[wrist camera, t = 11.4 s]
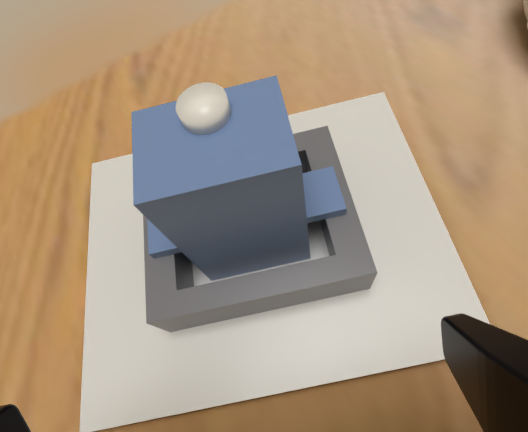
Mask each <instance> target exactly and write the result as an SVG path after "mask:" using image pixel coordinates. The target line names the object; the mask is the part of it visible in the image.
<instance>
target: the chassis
mask: <svg viewBox="0 0 528 432" xmlns="http://www.w3.org/2000/svg"><path fill="white" fill-rule="evenodd" d="M288 118H289V122H290V125H291V129H292V133H293V136H294V140H295V143H296V147H297V150H298V154H299V157H300V161H301V165H302V173H306V172H310V171H314V170H319V169H323V168H327V167H331V166H333V168H334V171H335V174H336V177H337V180H338V183H339V186H340V189H341V192H342V195H343V198H344V201H345V205H346V208H347V211H346V214H345V215H341V216H336V217H332V218H328V219H323V220H319V221H315V222H310V223H307V226H308V237H309V247H310V258H311V259H306V260H302V261H297V262H293V263H288V264H284V265H279V266H275V267H271V268H266V269H262V270H257V271H253V272H248V273H244V274H240V275H235V276H231V277H226V278H222V279H217V280H213V281H211V280H210V279H209V278H208V277H207V276H206V275H205V274H204V273H203V272H202V271H201V270H200V269H199V268H198V267H197V266H196V265H195V264H194V263H193V262H192V261H191V260H190V259H188V258H187V257H186V256H185V255H184V254H183V253H182V252H180V253H176V254H172V255H167V256H163V257H159V258H153V257H151V256H150V255H149V251H148V224H147V218H146V217H145V216H144V215H143V214H142V213H141V212H140V211H139V210H138V209H137V208H136V207H135V206H134V205H133V154H129V155H125V156H121V157H117V158H113V159H109V160H105V161H101V162H97V163H93V164H92V177H91V198H90V220H89V241H88V262H87V284H86V305H85V327H84V348H83V369H82V391H81V412H80V432H94V431H99V430H104V429H108V428H113V427H118V426H123V425H128V424H133V423H138V422H143V421H147V420H152V419H157V418H162V417H167V416H172V415H177V414H182V413H186V412H191V411H196V410H201V409H206V408H211V407H216V406H221V405H225V404H230V403H235V402H240V401H245V400H250V399H255V398H260V397H264V396H269V395H274V394H279V393H284V392H289V391H294V390H299V389H303V388H308V387H313V386H318V385H323V384H328V383H333V382H338V381H343V380H347V379H352V378H357V377H362V376H367V375H372V374H377V373H382V372H386V371H391V370H396V369H401V368H406V367H411V366H416V365H421V364H425V363H430V362H435V361H440V360H445V357H444V354H443V346H442V334H441V319H442V318H443V317H445V316H450V315H454V314H460V313H463V314H466V315H469V316H471V317H474V318H476V319H478V320H481V321H483V322H486V323H488V324H490V323H489V321H488V318H487V316H486V314H485V312H484V310H483V307H482V305H481V303H480V301H479V299H478V297H477V294H476V292H475V290H474V288H473V286H472V284H471V281H470V279H469V277H468V275H467V273H466V270H465V268H464V266H463V264H462V262H461V260H460V257H459V255H458V253H457V251H456V249H455V246H454V244H453V242H452V240H451V238H450V236H449V233H448V231H447V229H446V227H445V225H444V222H443V220H442V218H441V216H440V214H439V212H438V209H437V207H436V205H435V203H434V201H433V199H432V196H431V194H430V192H429V190H428V188H427V185H426V183H425V181H424V179H423V177H422V175H421V172H420V170H419V168H418V166H417V164H416V161H415V159H414V157H413V155H412V153H411V151H410V148H409V146H408V144H407V142H406V140H405V137H404V135H403V133H402V131H401V129H400V127H399V124H398V122H397V120H396V118H395V116H394V113H393V111H392V109H391V107H390V105H389V103H388V100H387V98H386V96H385V94H384V92H381V93H377V94H373V95H369V96H365V97H361V98H357V99H353V100H349V101H345V102H341V103H337V104H333V105H329V106H324V107H320V108H316V109H312V110H308V111H304V112H300V113H296V114H292V115H288Z"/></svg>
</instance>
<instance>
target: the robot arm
mask: <svg viewBox="0 0 528 432" xmlns="http://www.w3.org/2000/svg"><path fill="white" fill-rule="evenodd" d="M441 334H442V346H443V354H444V357H445V360H446V362H447V364H448V366H449V368H450V370H451V372H452V374H453V376H454V377H455V379H456V381H457V383H458V385H459V387H460V389H461V390H462V392H463V394H464V396H465V398H466V400H467V402H468V403H469V405H470V407H471V409H472V411H473V413H474V415H475V417H476V418H477V420H478V422H479V424H480V426H481V428H482V429H483V431H484V432H528V340H526V339H524V338H521V337H519V336H517V335H514V334H512V333H509V332H507V331H505V330H502V329H500V328H497V327H495V326H493V325H490V324H488V323H486V322H483V321H481V320H478V319H476V318H474V317H471V316H469V315H466V314H463V313H460V314H454V315H450V316H445V317H443V318H442V319H441ZM0 432H31V431H30V429H29V427H28V425H27V423H26V422H25V420H24V418H23V416H22V415H21V413H20V411H19V409H18V408H17V407H16V406H15V405H12V404H8V405H3V406H0Z"/></svg>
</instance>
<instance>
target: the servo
mask: <svg viewBox="0 0 528 432" xmlns="http://www.w3.org/2000/svg"><path fill="white" fill-rule="evenodd" d="M132 154H133V205H134V206H135V207H136V208H137V209H138V210H139V211H140V212H141V213H142V214H143V215H144V216H145V217H146V218H147V224H148V251H149V255H150V256H151V257H153V258H159V257H163V256H167V255H172V254H176V253H180V252H182V253H183V254H184V255H185V256H186V257H187V258H188V259H190V260H191V261H192V262H193V263H194V264H195V265H196V266H197V267H198V268H199V269H200V270H201V271H202V272H203V273H204V274H205V275H206V276H207V277H208V278H209V279H210V280H211V281H213V280H217V279H222V278H226V277H231V276H235V275H240V274H244V273H248V272H253V271H257V270H262V269H266V268H271V267H275V266H279V265H284V264H288V263H293V262H297V261H302V260H306V259H311V258H310V247H309V237H308V226H307V223H310V222H315V221H319V220H323V219H328V218H332V217H336V216H341V215H345V214H346V211H347V208H346V205H345V201H344V198H343V195H342V192H341V189H340V186H339V183H338V180H337V177H336V174H335V171H334V168H333V166H331V167H327V168H323V169H319V170H314V171H310V172H306V173H302V165H301V161H300V157H299V154H298V150H297V147H296V143H295V140H294V136H293V133H292V129H291V125H290V122H289V118H288V115H287V111H286V108H285V104H284V100H283V97H282V93H281V90H280V86H279V83H278V79H277V76H273V77H269V78H265V79H261V80H257V81H253V82H249V83H245V84H241V85H237V86H233V87H229V88H225V89H223V88H222V87H221V86H219V85H217V84H214V83H209V82H205V83H199V84H195V85H193V86H191V87H189V88H187V89H186V90H185V91H184V92H183V93H182V94H181V95H180V96H179V98H178V99H177V101H174V102H170V103H166V104H162V105H158V106H154V107H150V108H146V109H142V110H138V111H134V112H132Z"/></svg>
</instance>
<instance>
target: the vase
mask: <svg viewBox="0 0 528 432" xmlns="http://www.w3.org/2000/svg"><path fill="white" fill-rule="evenodd" d="M523 6H524V13H525V16H526V19H527V28H528V0H523Z"/></svg>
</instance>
